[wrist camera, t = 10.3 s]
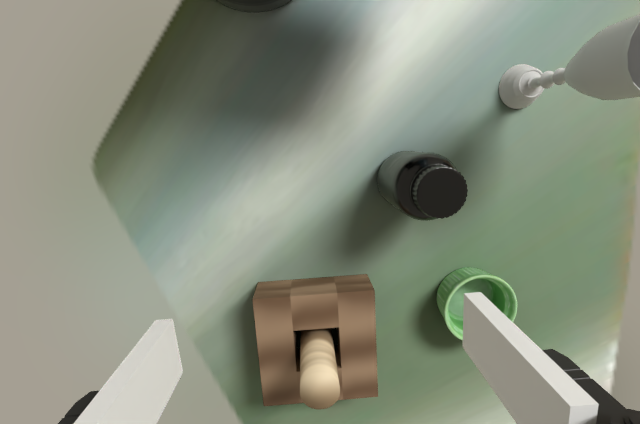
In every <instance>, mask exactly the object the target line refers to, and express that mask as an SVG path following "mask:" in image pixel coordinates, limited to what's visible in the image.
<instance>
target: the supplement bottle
mask: <svg viewBox="0 0 640 424" xmlns="http://www.w3.org/2000/svg"><path fill="white" fill-rule="evenodd" d="M377 184H378V189H379V191H380V193H381V195H382V196H383V198H384V199H385V200H386V201H388V202H389V203H390V204H392V205H393V206H394V207H396V208H397V209H399V210H400V211H402V212H403V213H405V214H406V215H408V216H410V217H412V218H414V219H417V220H433V219H438V218H444V217H446V218H447V217H449V216H452V215H453V214H454V213H457V211H458V210H460V209H461V207H462V206H463V205H464V202H465V201H466V197H467V191H468V190H467V184H466V180H464V177H463V176H462V175H461V174H460V172H458V171H457V169H456V167H455V166H454V165H453V163H452V162H451V161H449V160H448V159H447V158H445V157H443V156H441V155H438V154H434V153H425V152H415V151H401V152H397V153H395V154H393V155H391V156H390V157H388V158H387V159H386V160H385V161H384V162H383V164H382V165H381V167H380V169H379V172H378V176H377Z"/></svg>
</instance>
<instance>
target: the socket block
mask: <svg viewBox="0 0 640 424" xmlns="http://www.w3.org/2000/svg"><path fill="white" fill-rule="evenodd" d="M252 300H253V309H254V319H255V328H256V337H257V347H258V356H259V365H260V375H261V384H262V393H263V403H264V406H273V405H284V404H296V403H304V402H303V401H302V399H301V396H300V350H301V348H297V338H296V331H298V330H311V329H323V328H336V327H337V343H338V345H334V351H335V358H336V365H337V371H338V378H339V385H340V395H339V398H338V400H343V399H355V398H367V397H378V383H377V352H376V322H375V291H374V288H373V286H372V284H371V282H370V280H369V278H368V275H367V274H362V275H349V276H335V277H322V278H309V279H295V280H282V281H268V282H258V284H257V287H256V290H255V293H254V296H253V299H252Z"/></svg>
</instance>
